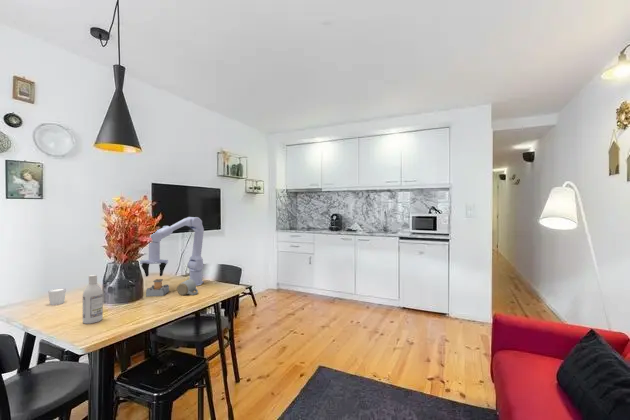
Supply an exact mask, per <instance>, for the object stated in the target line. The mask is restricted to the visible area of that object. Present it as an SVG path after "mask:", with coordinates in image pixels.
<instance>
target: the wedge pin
mask: <svg viewBox="0 0 630 420" xmlns="http://www.w3.org/2000/svg"><path fill="white" fill-rule="evenodd" d="M163 280H164V279H161V278H157V279H154V280H153V281H152V282H153V285H154V289H159V288H162V286H163V284H162V283H163Z"/></svg>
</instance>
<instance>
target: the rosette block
mask: <svg viewBox="0 0 630 420" xmlns="http://www.w3.org/2000/svg"><path fill="white" fill-rule="evenodd" d="M169 292H170V285H169V284H163V285H162V288H159V289H154V284H152V285H151V287H147V288H146V290H145V297H164V296H165V295H166V294H167V293H169Z"/></svg>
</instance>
